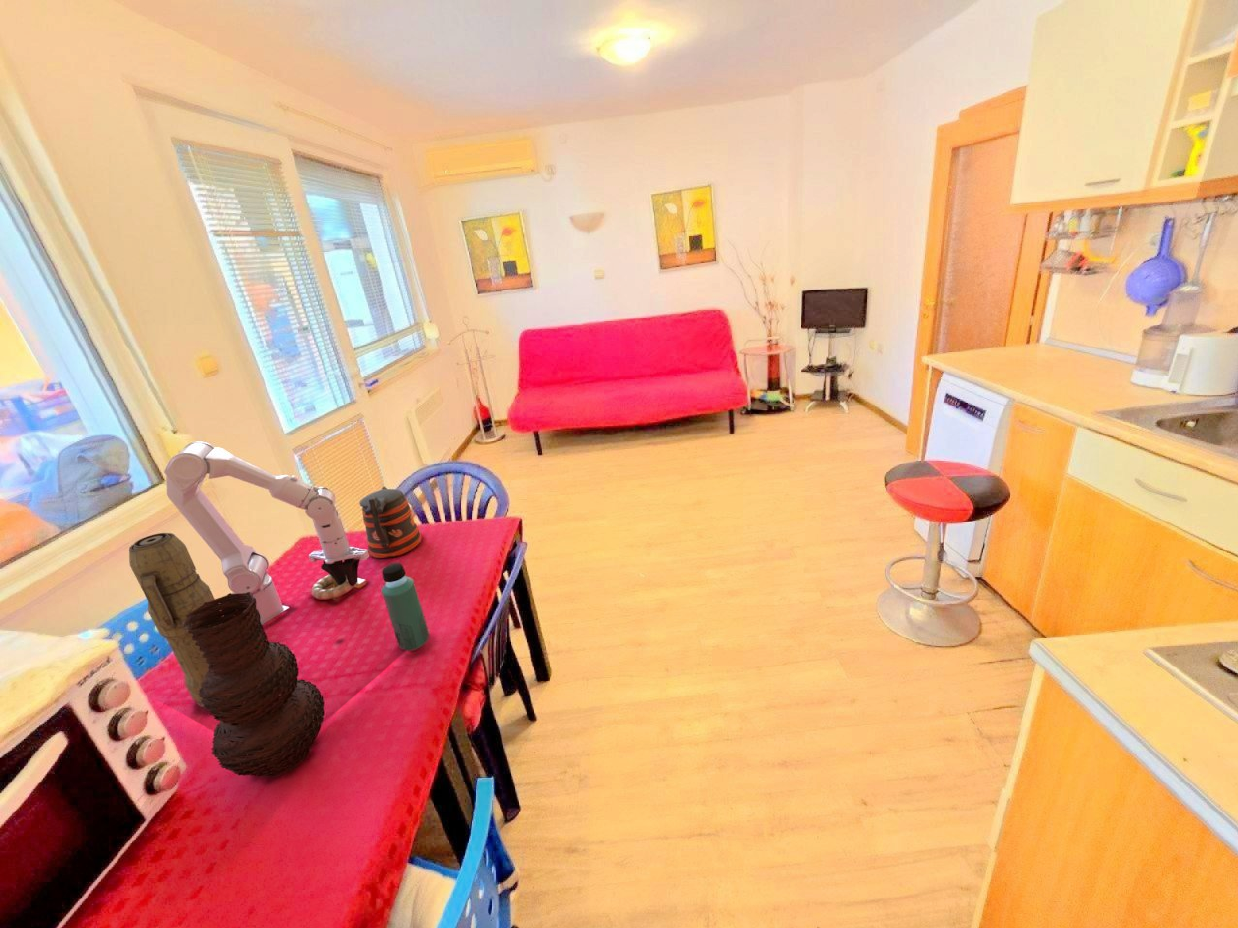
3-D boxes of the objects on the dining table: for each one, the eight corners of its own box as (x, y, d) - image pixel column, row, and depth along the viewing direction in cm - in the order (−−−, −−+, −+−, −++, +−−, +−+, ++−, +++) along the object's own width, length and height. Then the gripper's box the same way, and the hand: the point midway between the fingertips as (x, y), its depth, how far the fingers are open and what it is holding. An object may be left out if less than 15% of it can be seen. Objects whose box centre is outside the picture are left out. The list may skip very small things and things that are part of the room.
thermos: (258, 666, 106) (193, 519, 93) (245, 706, 96) (170, 547, 83) (208, 681, 103) (133, 531, 90) (188, 725, 93) (101, 563, 80)
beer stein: (420, 559, 141) (403, 495, 134) (364, 572, 138) (343, 507, 130) (422, 529, 158) (407, 471, 151) (372, 540, 154) (354, 480, 147)
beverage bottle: (438, 639, 109) (417, 560, 102) (415, 660, 104) (390, 579, 96) (416, 632, 112) (393, 555, 105) (392, 653, 106) (367, 573, 99)
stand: (312, 596, 129) (304, 572, 126) (343, 577, 136) (336, 554, 134) (336, 603, 125) (327, 579, 122) (366, 583, 132) (359, 560, 130)
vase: (324, 781, 80) (259, 628, 69) (213, 814, 76) (126, 658, 65) (344, 707, 94) (293, 570, 83) (251, 732, 90) (185, 592, 79)
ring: (304, 601, 125) (300, 593, 124) (330, 577, 134) (327, 569, 134) (342, 600, 123) (339, 592, 123) (366, 576, 133) (363, 568, 132)
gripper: (294, 546, 120) (312, 593, 125) (350, 544, 118) (366, 592, 123) (313, 531, 127) (330, 577, 132) (367, 529, 125) (381, 575, 130)
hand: (348, 583), depth 128 cm, fingers closed on ring, 2 cm apart
